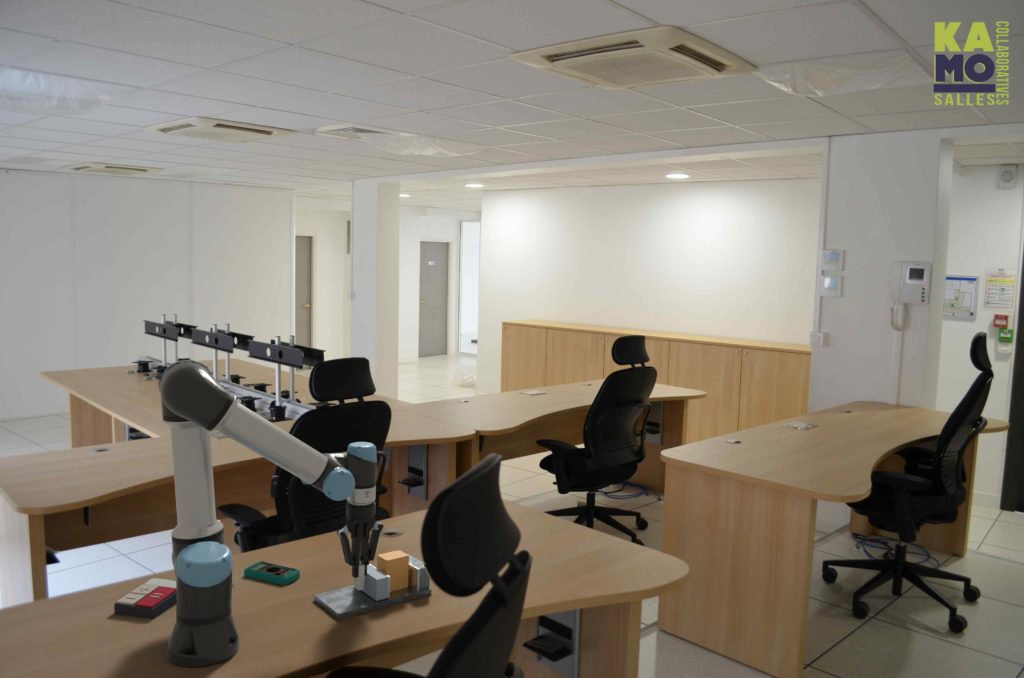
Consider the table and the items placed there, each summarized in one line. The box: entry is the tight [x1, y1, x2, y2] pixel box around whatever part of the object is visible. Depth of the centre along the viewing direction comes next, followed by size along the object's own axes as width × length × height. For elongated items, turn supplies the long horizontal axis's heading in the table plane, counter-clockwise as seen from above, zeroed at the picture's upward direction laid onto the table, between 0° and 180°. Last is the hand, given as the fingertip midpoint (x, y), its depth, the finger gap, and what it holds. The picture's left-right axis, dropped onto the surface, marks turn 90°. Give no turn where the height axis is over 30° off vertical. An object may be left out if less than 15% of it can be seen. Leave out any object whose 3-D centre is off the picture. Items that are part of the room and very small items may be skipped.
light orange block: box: [376, 549, 410, 592], centre depth 208 cm, size 7×5×9 cm
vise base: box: [313, 552, 432, 621], centre depth 204 cm, size 28×14×8 cm, turn 130°
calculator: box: [113, 577, 177, 620], centre depth 194 cm, size 11×4×15 cm
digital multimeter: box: [243, 560, 301, 586], centre depth 215 cm, size 7×15×3 cm, turn 68°
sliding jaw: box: [361, 563, 390, 601], centre depth 204 cm, size 4×12×6 cm, turn 40°
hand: (359, 588), depth 201 cm, fingers closed
